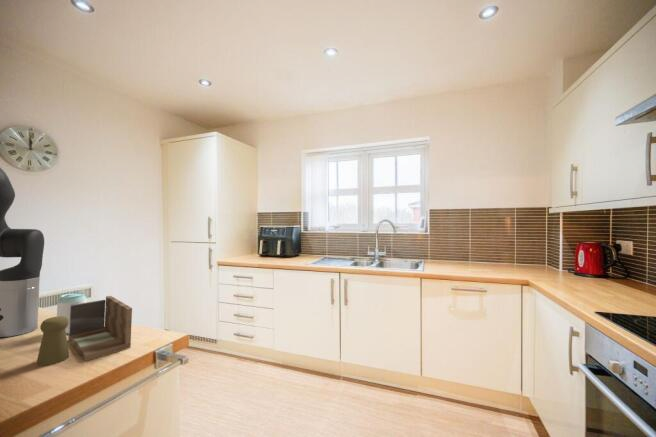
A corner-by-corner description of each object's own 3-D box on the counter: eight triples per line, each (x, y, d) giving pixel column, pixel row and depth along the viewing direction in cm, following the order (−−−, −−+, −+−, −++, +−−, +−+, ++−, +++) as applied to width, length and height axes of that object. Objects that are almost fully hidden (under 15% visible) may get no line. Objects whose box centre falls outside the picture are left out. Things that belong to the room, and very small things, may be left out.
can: (59, 337, 84) (61, 298, 84) (53, 332, 88) (54, 295, 88) (88, 330, 90) (90, 294, 90) (81, 325, 94) (83, 290, 94)
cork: (36, 368, 67) (38, 323, 67) (36, 359, 71) (38, 317, 71) (70, 360, 71) (71, 318, 71) (68, 352, 75) (69, 312, 75)
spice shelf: (68, 339, 83) (69, 302, 83) (109, 330, 91) (110, 295, 91) (85, 361, 71) (87, 316, 71) (130, 347, 79) (132, 308, 79)
